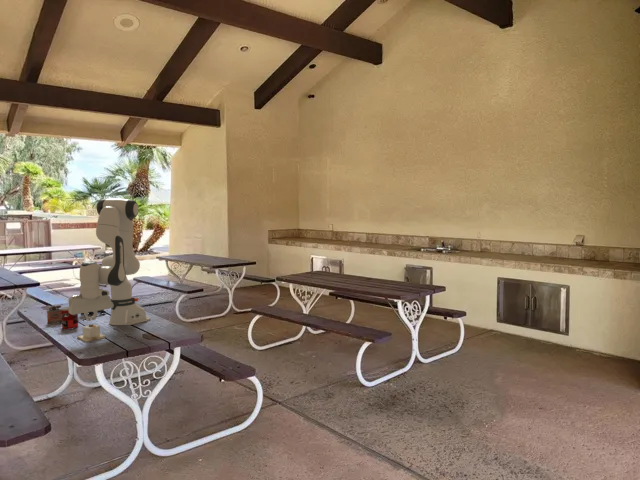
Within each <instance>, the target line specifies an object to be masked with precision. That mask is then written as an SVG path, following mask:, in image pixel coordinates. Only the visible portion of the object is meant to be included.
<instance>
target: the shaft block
mask: <svg viewBox="0 0 640 480" xmlns="http://www.w3.org/2000/svg"><path fill="white" fill-rule="evenodd" d="M88 325H89V327H92V326H94V325H95V324H94V323H90V324H88ZM76 338H77V339H78V340H80V341H83V342H85V343H88V342H92V341H97V340H101V339H105V338H107V335H105V334H102V333H100V335H99V336H96V337H92V338H88V337H83V334H82V335H77V336H76Z"/></svg>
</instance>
